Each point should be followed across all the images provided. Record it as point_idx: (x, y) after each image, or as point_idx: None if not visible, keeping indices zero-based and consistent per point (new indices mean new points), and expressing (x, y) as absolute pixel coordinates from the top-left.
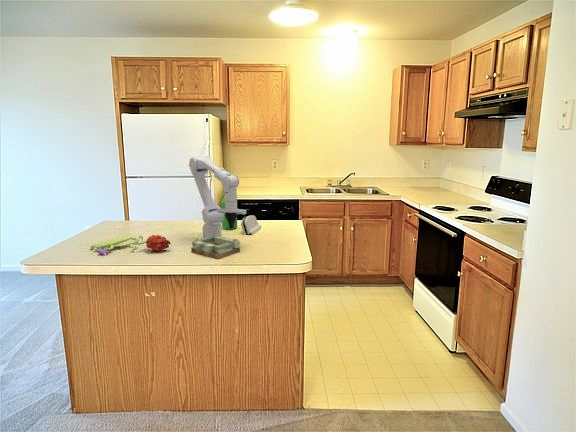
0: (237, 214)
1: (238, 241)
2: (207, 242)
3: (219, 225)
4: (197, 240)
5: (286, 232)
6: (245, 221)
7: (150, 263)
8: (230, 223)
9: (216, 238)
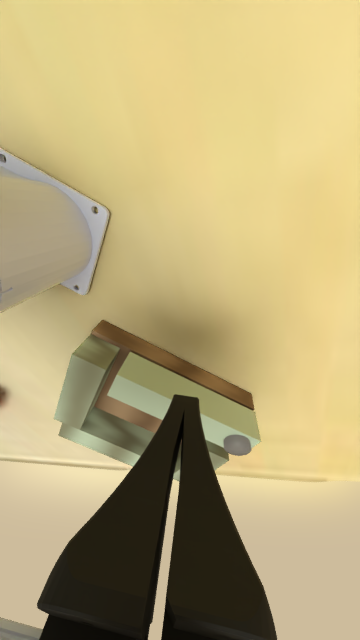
0: (266, 626)
1: (254, 443)
2: (97, 394)
3: (9, 278)
4: (62, 422)
5: None
6: None
7: (47, 456)
8: (174, 467)
9: (123, 399)
